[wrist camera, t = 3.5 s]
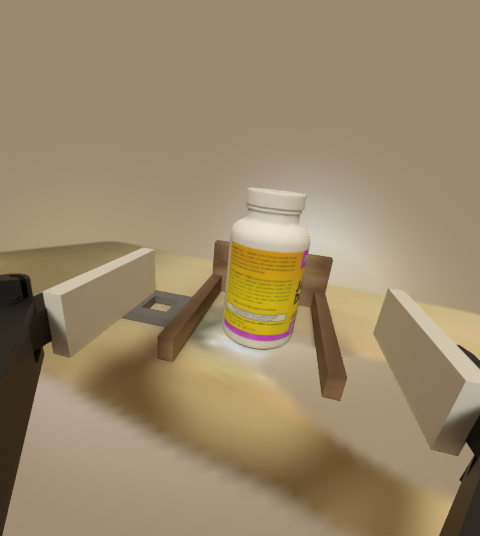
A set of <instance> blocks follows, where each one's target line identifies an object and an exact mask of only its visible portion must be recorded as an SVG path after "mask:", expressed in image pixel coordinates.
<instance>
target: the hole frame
mask: <svg viewBox="0 0 480 536" xmlns="http://www.w3.org/2000/svg"><path fill="white" fill-rule="evenodd" d="M191 298H192V297H188V296H183V295H178V294H173V293H167V292H162V291H157V290H155V292H154V293H152V294H151V295H150V296H148V297H147V298H146V299H145V300H143V301H142V302H141V303H139V304H138V305H137V306H136V307H134V308H133V309H132V310H131V311H129V312H128V313H127V314H125V315H124V316H123V318H126V319H130V320H135V321H140V322H145V323H149V324H154V325H159V326H163V327H166V326H167V325H168V324H169V323H170V322H171V321H172V320H173V318H174V317H175V316H176V315H177V314H178V313H179V312H180V311H181V309H182V308H183V307H184V306H185V305H186V304H187V303H188V301H189V300H190V299H191ZM155 302H156V303H161V304H166V305H171V306H172V307H171V308H170V309H169V310H168V311H167V312H164V311H159V310H154V309H149V307H151V306H152V305H153V304H154V303H155Z"/></svg>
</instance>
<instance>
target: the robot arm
mask: <svg viewBox="0 0 480 536" xmlns="http://www.w3.org/2000/svg"><path fill="white" fill-rule="evenodd" d="M154 292H155V249H149V248H141V249H139V250H137V251H134V252H132V253H130V254H127V255H125V256H123V257H121V258H118V259H116V260H114V261H111V262H109V263H107V264H105V265H102V266H100V267H98V268H95V269H93V270H91V271H89V272H86V273H84V274H82V275H79V276H77V277H75V278H73V279H70V280H68V281H66V282H63V283H61V284H59V285H57V286H54V287H52V288H50V289H47V290H45V291H43V292H41V293H39V294H37V295H34V296H33V294H32V288H31V283H30V278H29V276H28V275H25V274H5V275H0V536H2V534H3V530H4V525H5V521H6V517H7V512H8V508H9V504H10V499H11V495H12V491H13V486H14V482H15V478H16V474H17V469H18V465H19V461H20V456H21V452H22V448H23V444H24V439H25V435H26V431H27V426H28V422H29V418H30V414H31V409H32V405H33V401H34V396H35V392H36V388H37V383H38V379H39V375H40V371H41V366H42V362H43V358H44V351H43V346H44V345H46V344H47V343H49V342H50V341H51V342H52V348H53V353H54V354H57V355H61V356H65V357H69V358H70V357H72V356H73V355H74V354H76V353H77V352H78V351H79V350H81V349H82V348H83V347H84V346H86V345H87V344H88V343H90V342H91V341H92V340H93V339H95V338H96V337H97V336H99V335H100V334H101V333H102V332H104V331H105V330H106V329H108V328H109V327H110V326H111V325H113V324H114V323H115V322H116V321H118V320H119V319H120V318H122V317H123V316H124V315H125V314H127V313H128V312H129V311H131V310H132V309H133V308H134V307H136V306H137V305H138V304H139V303H141V302H142V301H143V300H145V299H146V298H147V297H148V296H150V295H151V294H152V293H154ZM373 334H374V336H375V338H376V340H377V342H378V344H379V346H380V348H381V350H382V352H383V354H384V356H385V358H386V360H387V362H388V364H389V366H390V368H391V370H392V372H393V374H394V376H395V378H396V380H397V382H398V384H399V386H400V388H401V390H402V392H403V394H404V396H405V398H406V400H407V402H408V404H409V406H410V408H411V410H412V412H413V414H414V416H415V418H416V420H417V422H418V424H419V426H420V428H421V430H422V432H423V434H424V436H425V438H426V440H427V442H428V444H429V446H430V448H431V449H432V450H435V451H439V452H443V453H447V454H451V455H455V456H458V455H459V453H460V452H461V450H462V448H463V446H464V445H465V443H466V442H467V444H468V445H469V447H470V448H471V450H472V452H473V453H474V457H473V458H472V460H471V462H470V463H469V465H468V467H467V468H466V470H465V472H464V473H463V475H462V477H461V478H460V481H461V485H460V487H459V490H458V492H457V494H456V497H455V499H454V502H453V504H452V506H451V509H450V511H449V513H448V516H447V518H446V521H445V523H444V525H443V528H442V530H441V533H440V535H439V536H480V360H479V359H478V358H477V357H476V356H475V355H473V354H472V353H470V352H469V351H467V350H466V349H464V348H463V347H461V346H460V345H456V344H455V343H454V342H453V341H452V340H451V339H450V338H449V337H448V336H447V335H446V334H445V333H444V332H443V331H442V330H441V329H440V328H439V327H438V326H437V324H436V323H435V322H434V321H433V320H432V319H431V318H430V317H429V316H428V315H427V314H426V313H425V312H424V311H423V310H422V309H421V308H420V307H419V306H418V305H417V304H416V303H415V302H414V301H413V300H412V299H411V298H410V297H409V296H408V294H407V293H406V292H405V291H402V290H395V289H390V288H388V290H387V293H386V296H385V299H384V302H383V305H382V308H381V312H380V315H379V318H378V321H377V324H376V327H375V330H374V333H373Z"/></svg>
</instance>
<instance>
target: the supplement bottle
mask: <svg viewBox="0 0 480 536" xmlns="http://www.w3.org/2000/svg"><path fill="white" fill-rule="evenodd" d="M305 202H306V195H305V194H301V193H295V192H288V191H281V190H273V189H263V188H248V189H247V195H246V203H247V205H246V207H247V208H248V210H247V215H246V217H245V218H242V219H240V220H239V221H237V222H236V223H235V224H234V225H233V227H232V229H231V235H230V247H229V258H228V269H227V279H226V289H225V299H224V310H223V328H224V330H225V332H226V334H227V335H228V336H229V337H230V338H231V339H232V340H234V341H235V342H237V343H239V344H241V345H243V346H247V347H250V348H255V349H271V348H276V347H279V346H281V345H283V344H285V343H286V342H287V341H288V340H289V339H290V337H291V335H292V331H293V327H294V322H295V317H296V312H297V307H298V302H299V297H300V292H301V287H302V282H303V276H304V271H305V266H306V261H307V256H308V250H309V246H310V236H309V233H308V232H307V230H306V229H305V228H304V227H303V226H301V225H300V224H299V218H300V214H301V213H302V210H304V207H305Z"/></svg>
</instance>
